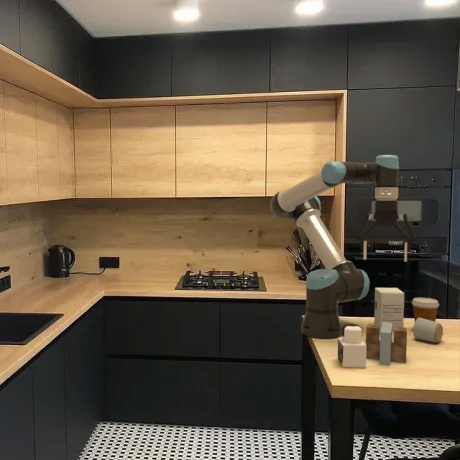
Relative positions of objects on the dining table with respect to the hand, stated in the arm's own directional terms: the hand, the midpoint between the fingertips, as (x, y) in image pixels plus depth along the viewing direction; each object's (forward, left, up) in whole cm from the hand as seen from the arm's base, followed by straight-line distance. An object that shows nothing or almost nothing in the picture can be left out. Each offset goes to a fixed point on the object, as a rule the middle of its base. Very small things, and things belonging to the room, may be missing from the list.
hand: (384, 260), depth 159 cm
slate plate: (+2, -19, -29) cm, 34 cm away
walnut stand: (+2, -19, -29) cm, 34 cm away
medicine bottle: (-8, -28, -29) cm, 41 cm away
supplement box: (+1, +16, -29) cm, 33 cm away
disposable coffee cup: (+14, +16, -29) cm, 36 cm away
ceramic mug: (+15, +6, -29) cm, 33 cm away
